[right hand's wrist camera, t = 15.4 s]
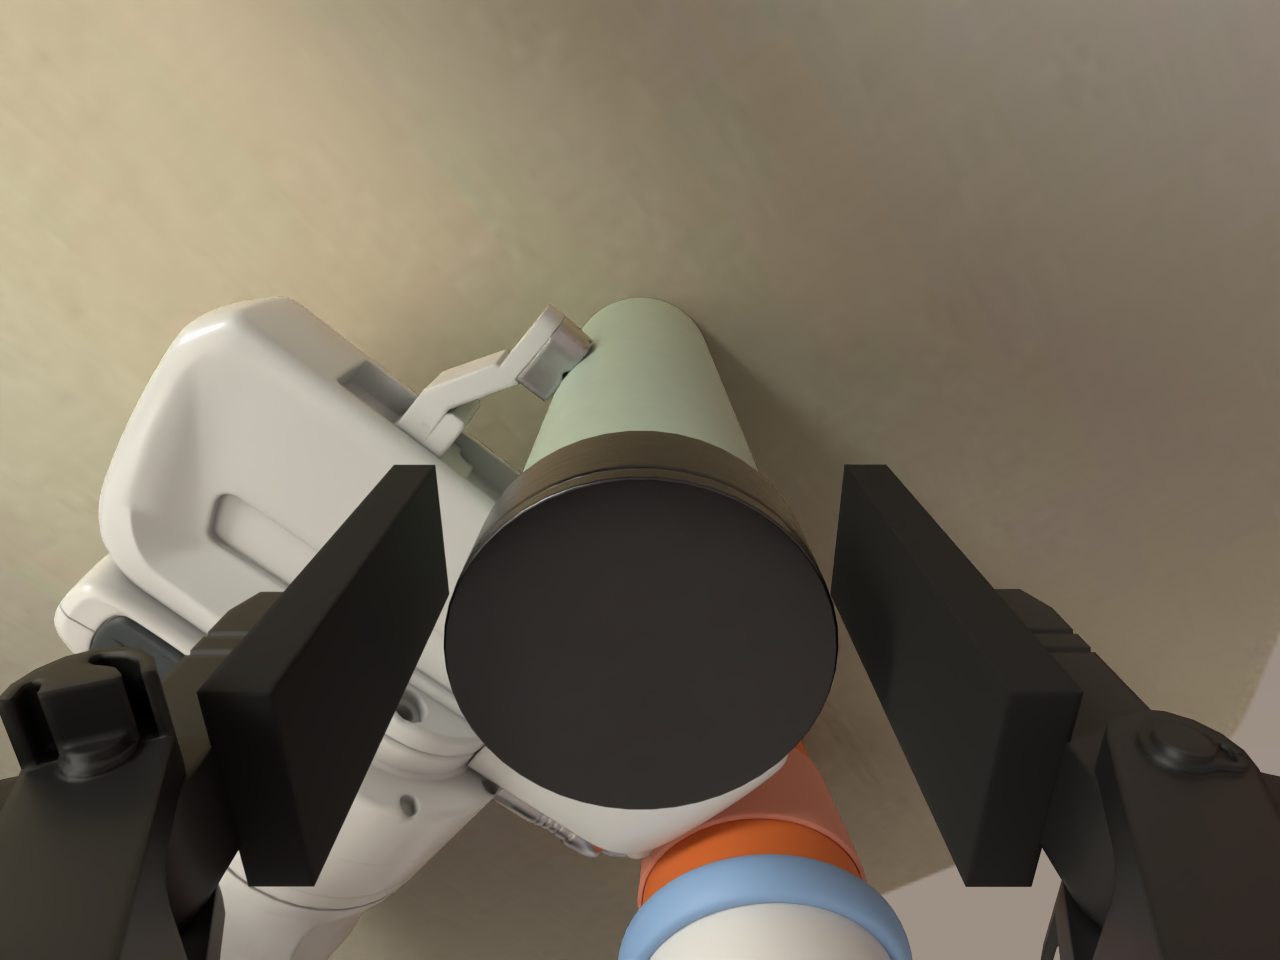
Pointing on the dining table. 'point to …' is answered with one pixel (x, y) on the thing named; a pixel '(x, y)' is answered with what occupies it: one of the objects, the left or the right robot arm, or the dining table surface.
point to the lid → (640, 624)
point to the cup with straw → (764, 884)
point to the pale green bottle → (642, 383)
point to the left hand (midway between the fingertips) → (661, 400)
